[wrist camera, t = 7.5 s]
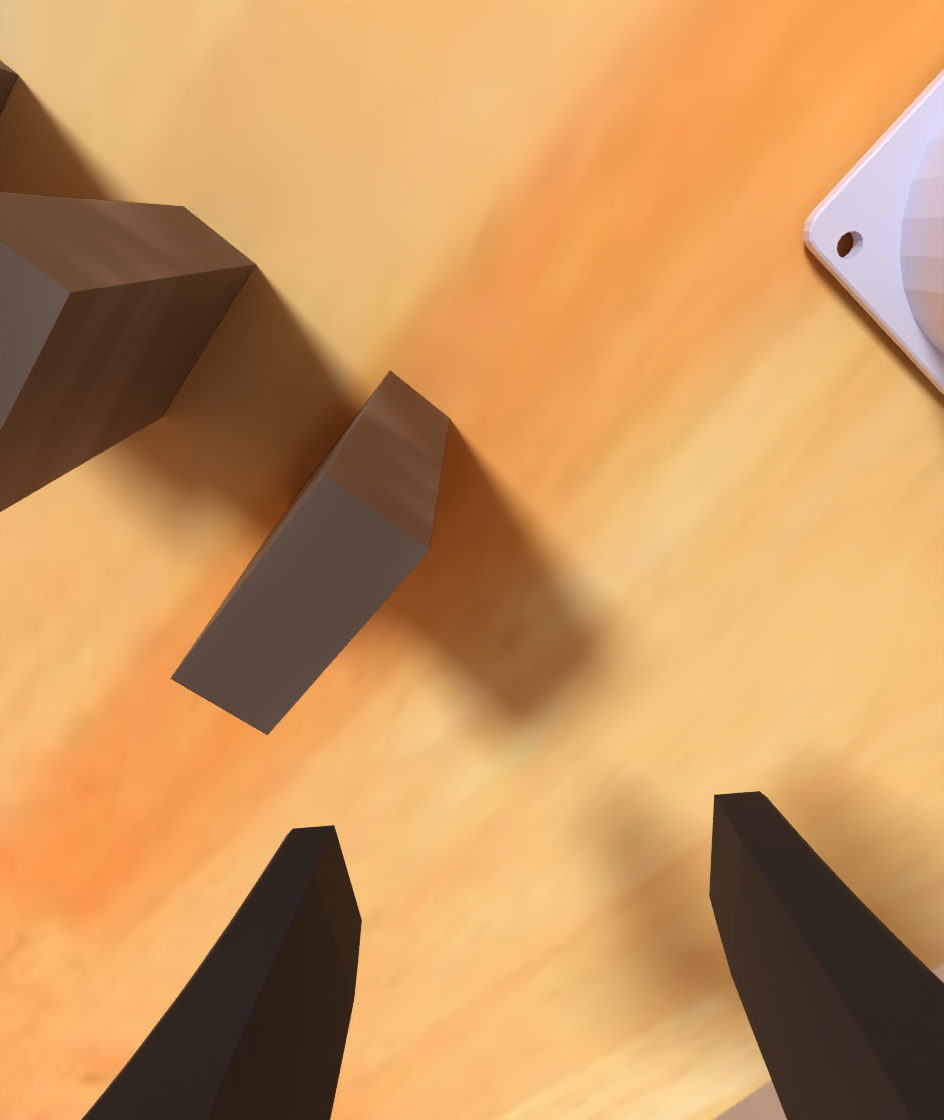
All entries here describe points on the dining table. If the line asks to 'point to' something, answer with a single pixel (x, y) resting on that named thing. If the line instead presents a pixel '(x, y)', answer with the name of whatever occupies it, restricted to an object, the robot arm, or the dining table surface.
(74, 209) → the domino
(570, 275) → the dining table surface
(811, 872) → the robot arm
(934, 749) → the dining table surface
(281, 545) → the domino
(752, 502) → the dining table surface
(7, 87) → the domino
